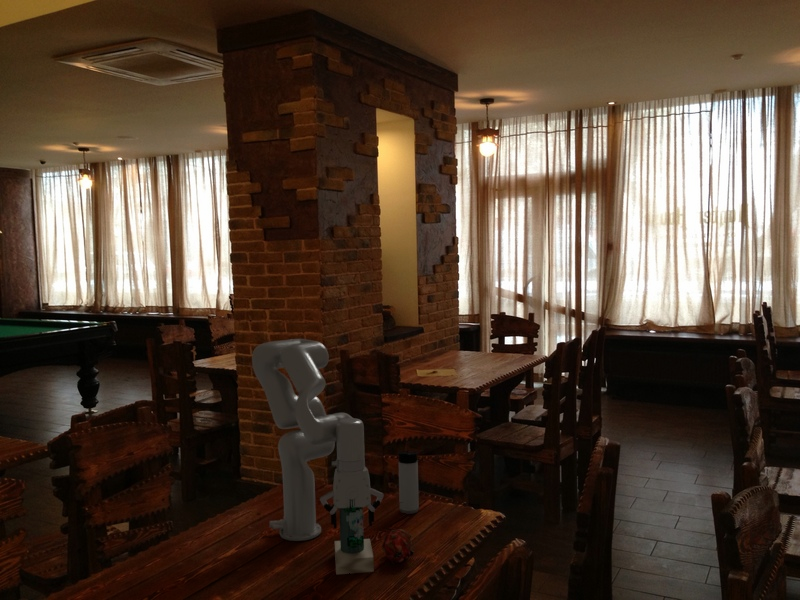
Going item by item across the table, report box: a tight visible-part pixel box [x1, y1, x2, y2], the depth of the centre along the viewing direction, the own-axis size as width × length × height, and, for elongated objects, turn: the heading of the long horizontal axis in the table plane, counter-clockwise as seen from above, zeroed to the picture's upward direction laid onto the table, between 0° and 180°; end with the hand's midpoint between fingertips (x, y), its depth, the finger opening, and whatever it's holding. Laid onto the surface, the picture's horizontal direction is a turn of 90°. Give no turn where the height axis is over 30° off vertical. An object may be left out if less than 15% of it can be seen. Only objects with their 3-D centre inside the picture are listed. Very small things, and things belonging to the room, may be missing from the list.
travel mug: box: [397, 450, 420, 515], centre depth 228 cm, size 6×7×20 cm
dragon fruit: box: [381, 528, 415, 565], centre depth 193 cm, size 8×8×12 cm
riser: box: [334, 538, 375, 576], centre depth 192 cm, size 10×12×4 cm
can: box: [338, 499, 365, 554], centre depth 191 cm, size 6×6×15 cm
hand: (352, 525), depth 191 cm, fingers open, 9 cm apart
